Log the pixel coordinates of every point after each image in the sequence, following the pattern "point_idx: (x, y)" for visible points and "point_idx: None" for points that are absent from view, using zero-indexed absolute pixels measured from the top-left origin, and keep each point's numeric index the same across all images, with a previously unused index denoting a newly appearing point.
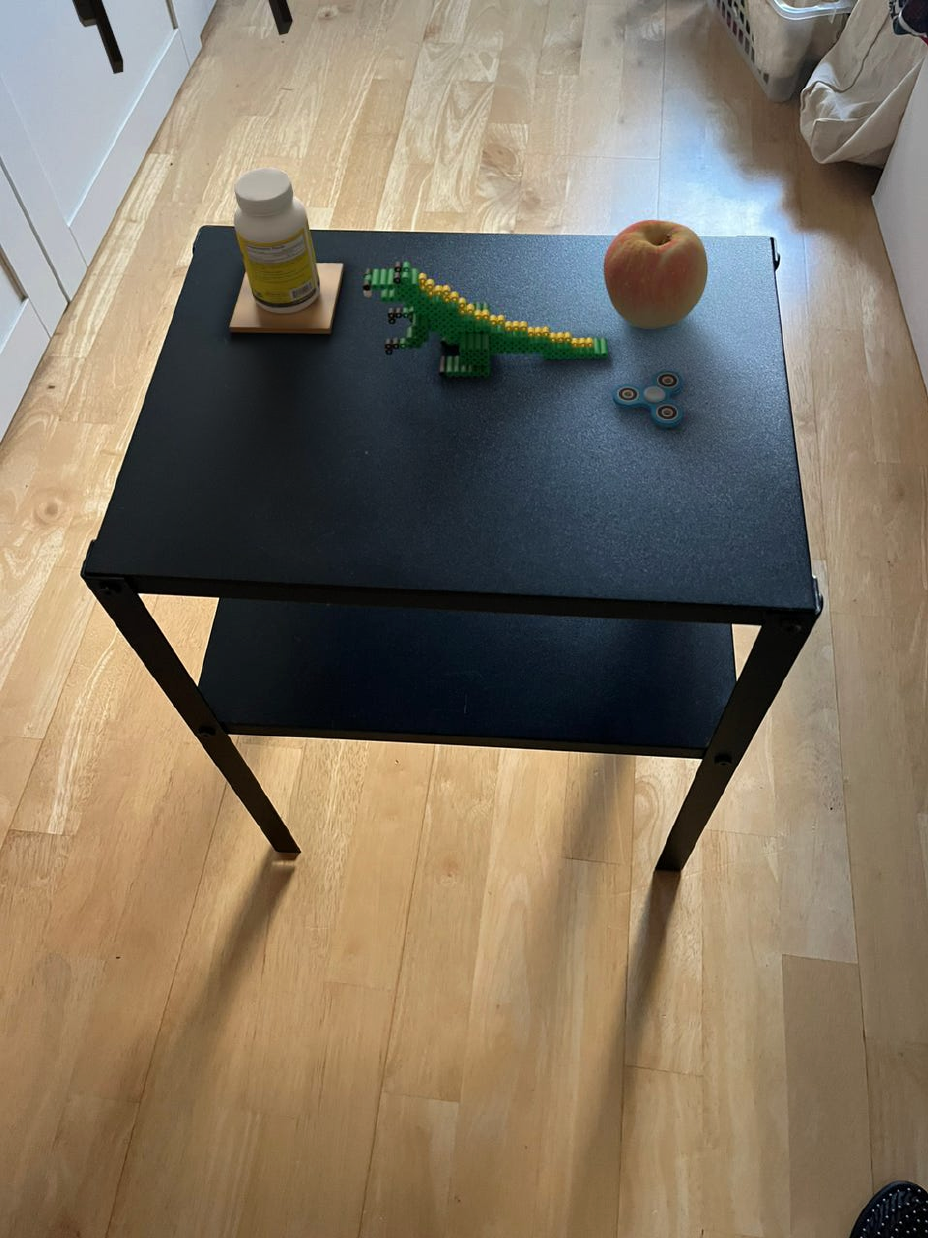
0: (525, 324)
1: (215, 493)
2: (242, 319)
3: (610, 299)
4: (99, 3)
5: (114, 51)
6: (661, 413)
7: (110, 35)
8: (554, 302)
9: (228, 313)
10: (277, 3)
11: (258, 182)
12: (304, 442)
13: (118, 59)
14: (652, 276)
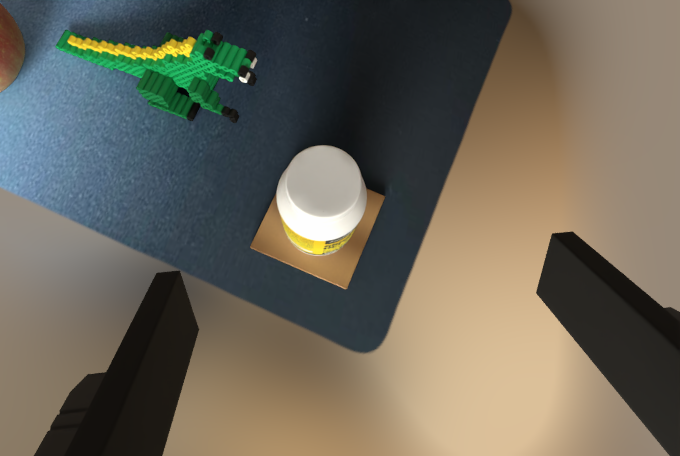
0: (117, 46)
1: (428, 27)
2: (370, 202)
3: (21, 48)
4: (648, 313)
5: (575, 243)
6: None
7: (593, 261)
8: (72, 117)
9: (380, 226)
10: (168, 303)
11: (327, 186)
12: (351, 47)
13: (562, 235)
14: None
